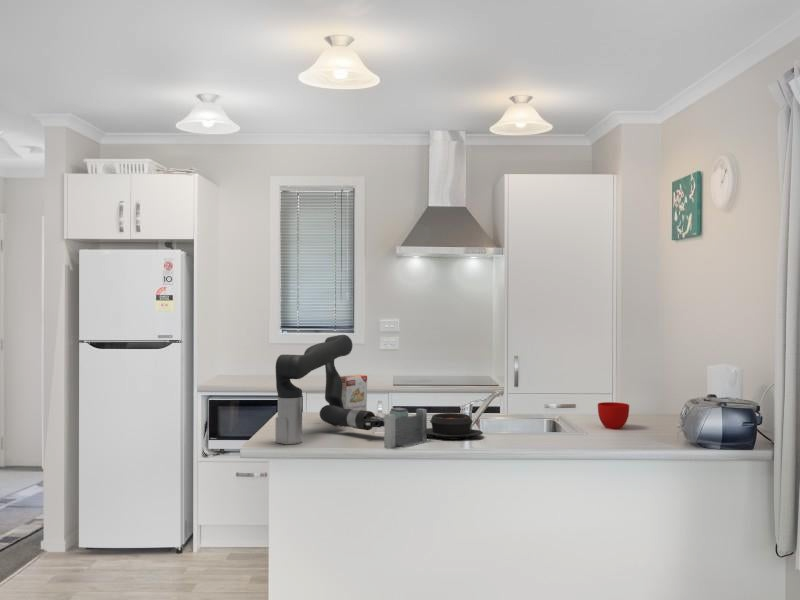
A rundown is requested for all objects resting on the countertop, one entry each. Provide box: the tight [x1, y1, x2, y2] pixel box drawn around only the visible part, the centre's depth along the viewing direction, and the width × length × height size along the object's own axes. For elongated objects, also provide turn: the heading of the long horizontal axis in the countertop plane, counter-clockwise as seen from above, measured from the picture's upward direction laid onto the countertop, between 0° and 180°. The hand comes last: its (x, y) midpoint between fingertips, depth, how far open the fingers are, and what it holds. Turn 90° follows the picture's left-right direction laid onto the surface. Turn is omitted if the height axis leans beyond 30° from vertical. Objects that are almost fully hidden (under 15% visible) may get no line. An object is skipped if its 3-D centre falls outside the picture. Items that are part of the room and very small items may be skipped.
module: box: [389, 406, 409, 419], centre depth 290 cm, size 5×5×13 cm
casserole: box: [427, 412, 484, 440], centre depth 302 cm, size 25×19×8 cm
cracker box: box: [339, 374, 368, 426], centre depth 332 cm, size 14×6×21 cm, turn 143°
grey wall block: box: [383, 408, 429, 449], centre depth 286 cm, size 21×6×12 cm, turn 139°
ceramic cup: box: [597, 401, 630, 430], centre depth 326 cm, size 13×17×10 cm
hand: (394, 424), depth 291 cm, fingers closed
